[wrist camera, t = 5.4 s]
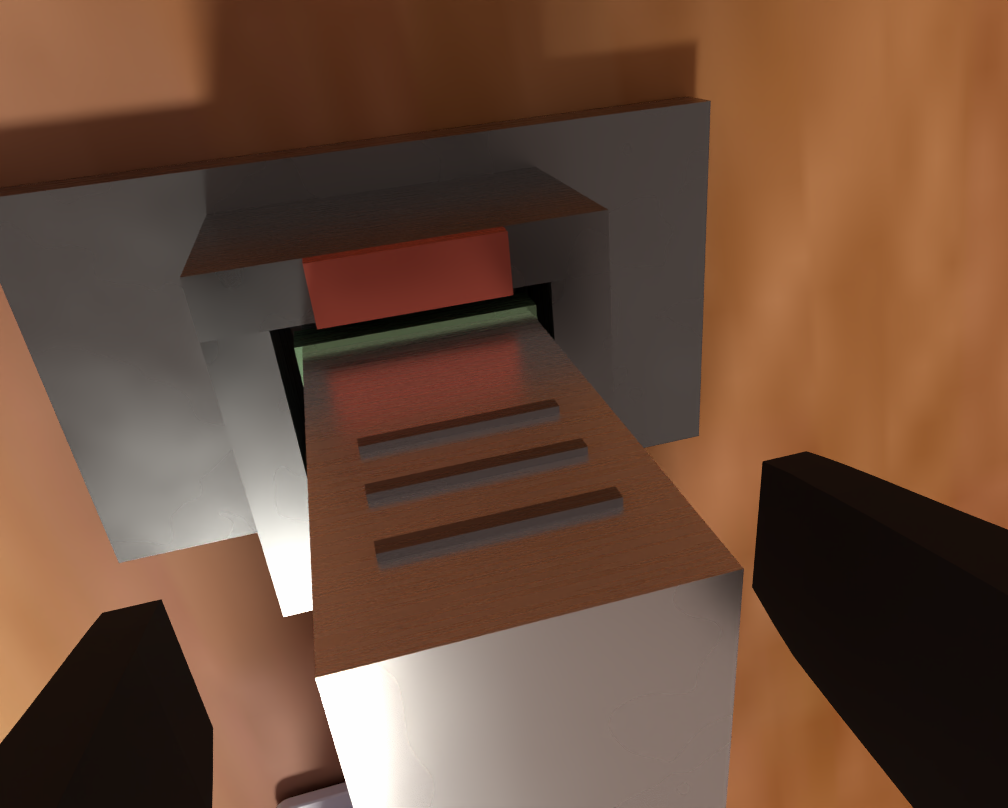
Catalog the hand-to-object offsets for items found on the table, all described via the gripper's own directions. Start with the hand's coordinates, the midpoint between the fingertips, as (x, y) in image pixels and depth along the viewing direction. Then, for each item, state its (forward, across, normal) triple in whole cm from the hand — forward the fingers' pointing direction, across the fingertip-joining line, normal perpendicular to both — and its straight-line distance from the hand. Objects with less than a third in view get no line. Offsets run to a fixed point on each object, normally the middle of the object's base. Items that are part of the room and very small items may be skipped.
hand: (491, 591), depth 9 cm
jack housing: (+9, 0, 0) cm, 9 cm away
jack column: (+6, 0, 0) cm, 6 cm away
